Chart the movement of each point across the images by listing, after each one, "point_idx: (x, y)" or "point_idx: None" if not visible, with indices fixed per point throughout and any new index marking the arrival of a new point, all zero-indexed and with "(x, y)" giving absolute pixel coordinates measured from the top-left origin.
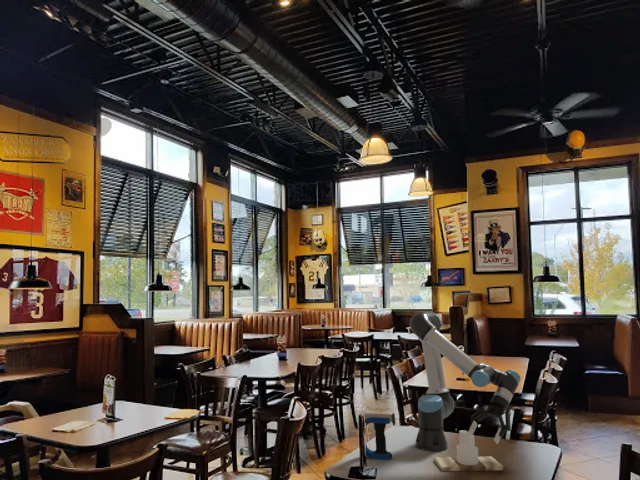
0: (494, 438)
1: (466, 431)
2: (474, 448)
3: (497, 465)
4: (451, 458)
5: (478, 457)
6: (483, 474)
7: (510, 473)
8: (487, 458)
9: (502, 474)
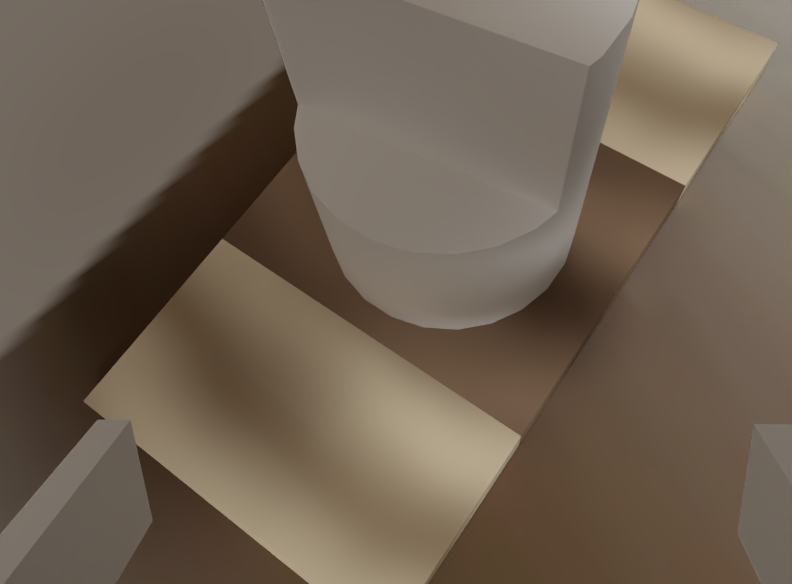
0: (111, 440)
1: (511, 18)
2: (294, 83)
3: (145, 374)
4: (636, 154)
5: (467, 443)
6: (194, 154)
7: (5, 384)
8: (365, 506)
9: (58, 294)
